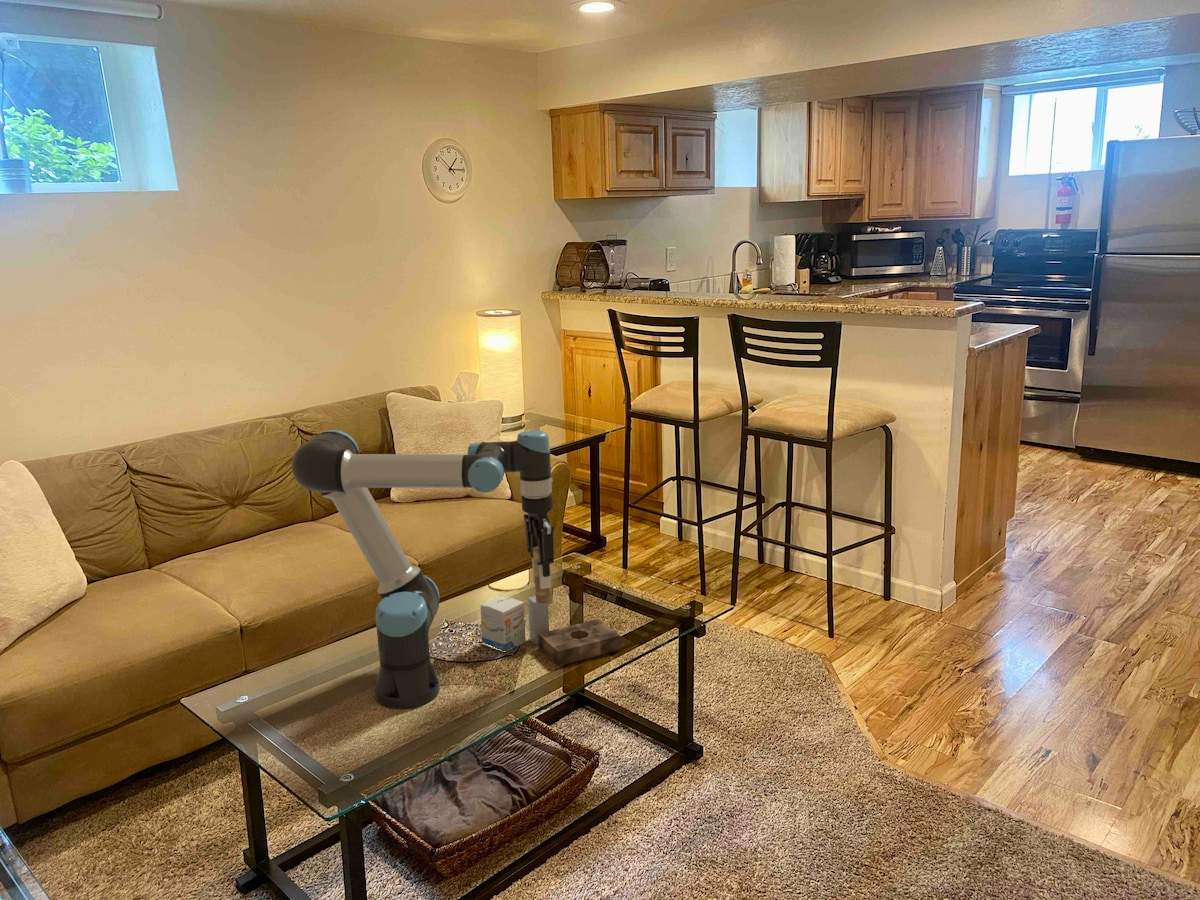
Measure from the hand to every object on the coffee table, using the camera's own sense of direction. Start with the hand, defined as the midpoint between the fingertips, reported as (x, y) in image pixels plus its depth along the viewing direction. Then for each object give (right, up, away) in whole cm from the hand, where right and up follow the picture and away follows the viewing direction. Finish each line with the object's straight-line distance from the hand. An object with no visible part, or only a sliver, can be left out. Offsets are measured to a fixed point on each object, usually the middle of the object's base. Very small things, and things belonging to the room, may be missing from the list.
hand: (542, 584), depth 220 cm
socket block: (+9, -19, +12) cm, 24 cm away
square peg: (-2, -18, +18) cm, 25 cm away
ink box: (-11, -18, +16) cm, 27 cm away
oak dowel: (0, -4, +1) cm, 4 cm away
